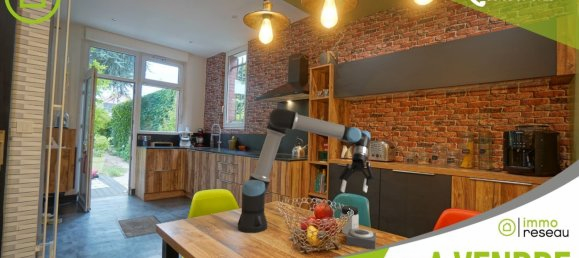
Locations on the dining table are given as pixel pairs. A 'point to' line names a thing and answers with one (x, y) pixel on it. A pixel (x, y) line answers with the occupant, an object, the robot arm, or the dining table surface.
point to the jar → (352, 221)
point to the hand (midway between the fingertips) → (353, 191)
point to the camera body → (361, 238)
